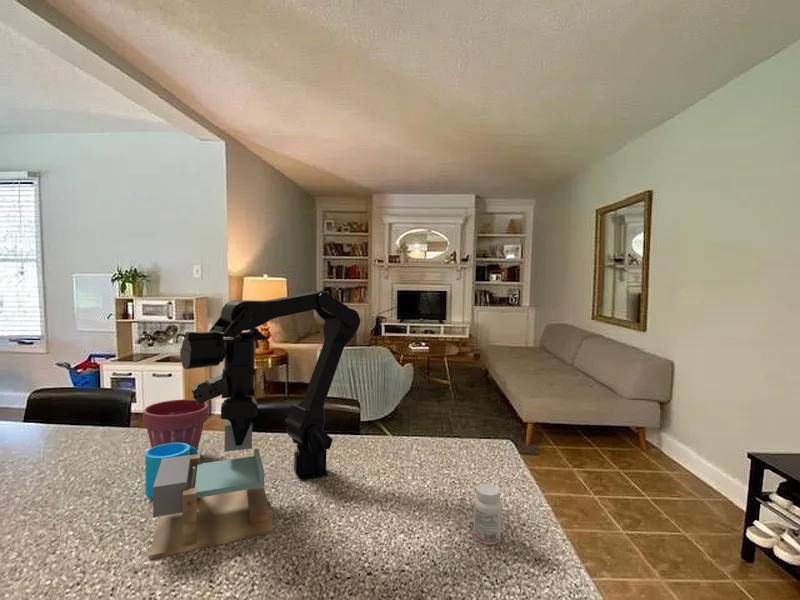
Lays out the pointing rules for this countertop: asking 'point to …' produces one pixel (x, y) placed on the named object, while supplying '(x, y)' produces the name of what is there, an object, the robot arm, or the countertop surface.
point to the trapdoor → (203, 480)
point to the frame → (211, 519)
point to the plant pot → (175, 422)
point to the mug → (155, 457)
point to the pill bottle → (487, 514)
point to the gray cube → (230, 439)
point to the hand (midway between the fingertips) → (238, 440)
